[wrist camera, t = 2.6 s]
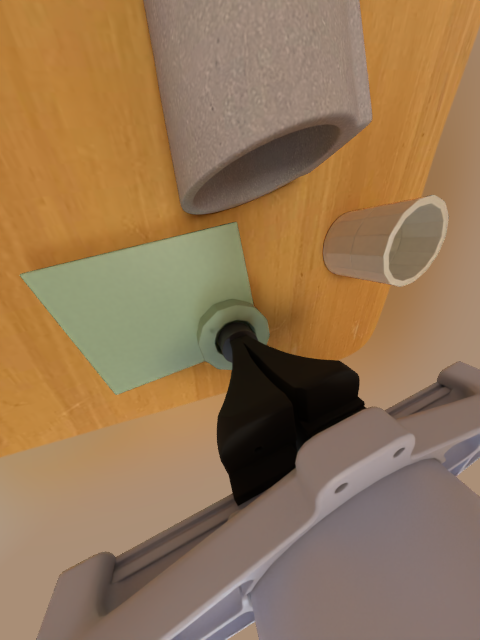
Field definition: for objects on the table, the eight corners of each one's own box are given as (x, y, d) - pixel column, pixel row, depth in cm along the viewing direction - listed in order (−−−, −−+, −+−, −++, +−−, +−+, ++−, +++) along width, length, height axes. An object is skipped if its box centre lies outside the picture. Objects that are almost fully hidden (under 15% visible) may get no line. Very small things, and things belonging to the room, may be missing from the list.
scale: (261, 341, 18) (273, 354, 16) (124, 394, 15) (115, 419, 13) (238, 221, 13) (250, 216, 11) (29, 272, 10) (-11, 279, 8)
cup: (367, 266, 18) (434, 273, 13) (322, 281, 17) (378, 295, 12) (374, 204, 16) (460, 187, 11) (322, 218, 15) (391, 206, 10)
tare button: (254, 345, 15) (261, 355, 14) (223, 357, 14) (227, 369, 13) (247, 316, 14) (255, 325, 12) (213, 329, 13) (217, 338, 12)
